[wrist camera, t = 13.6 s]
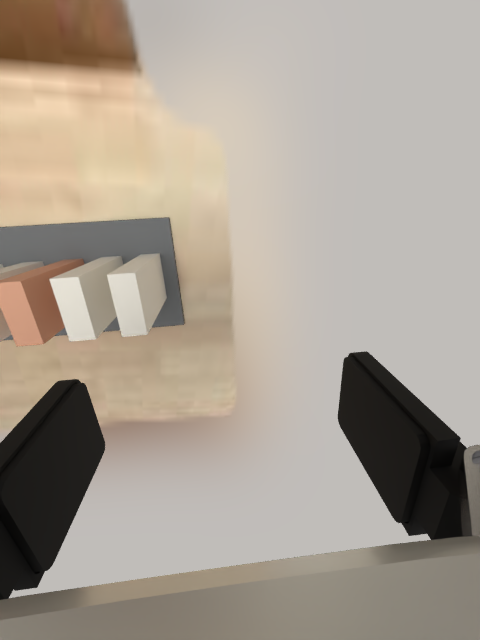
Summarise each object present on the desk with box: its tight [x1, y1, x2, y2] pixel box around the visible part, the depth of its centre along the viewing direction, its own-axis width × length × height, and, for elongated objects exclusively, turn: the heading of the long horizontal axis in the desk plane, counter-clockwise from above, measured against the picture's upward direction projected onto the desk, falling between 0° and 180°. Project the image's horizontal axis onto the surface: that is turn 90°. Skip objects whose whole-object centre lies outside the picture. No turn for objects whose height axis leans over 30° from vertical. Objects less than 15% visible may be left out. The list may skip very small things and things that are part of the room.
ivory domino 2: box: [49, 256, 123, 342], centre depth 25 cm, size 2×5×10 cm, turn 3°
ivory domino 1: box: [0, 261, 44, 341], centre depth 24 cm, size 2×5×10 cm, turn 3°
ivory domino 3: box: [107, 253, 167, 337], centre depth 25 cm, size 2×5×10 cm, turn 3°
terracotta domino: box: [0, 259, 84, 346], centre depth 25 cm, size 2×5×10 cm, turn 3°
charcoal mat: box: [0, 218, 184, 340], centre depth 29 cm, size 12×21×1 cm, turn 93°
